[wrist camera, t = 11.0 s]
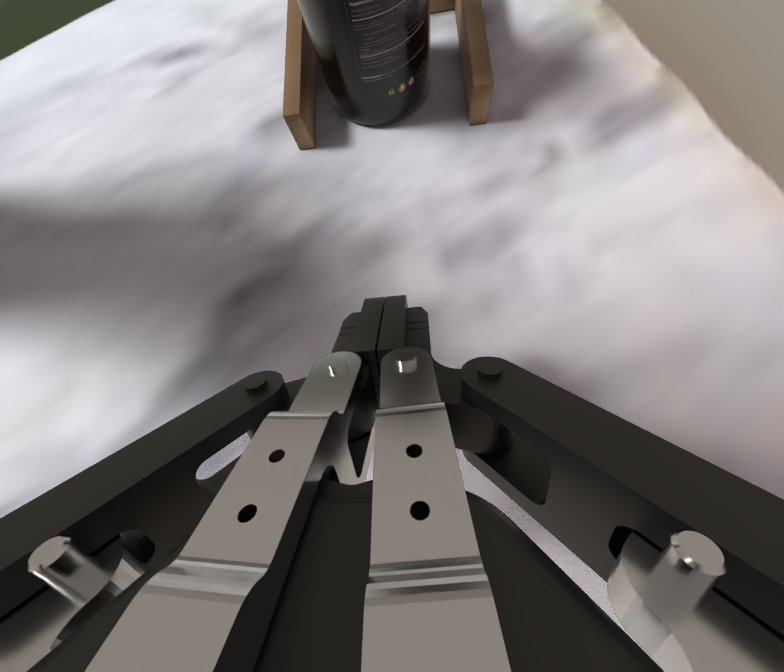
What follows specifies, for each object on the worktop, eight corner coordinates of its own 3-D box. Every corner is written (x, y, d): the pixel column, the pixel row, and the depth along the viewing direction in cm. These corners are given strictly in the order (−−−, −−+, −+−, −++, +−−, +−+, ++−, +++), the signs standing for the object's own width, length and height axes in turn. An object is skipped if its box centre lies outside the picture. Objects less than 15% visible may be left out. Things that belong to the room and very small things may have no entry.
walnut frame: (300, 149, 21) (283, 116, 19) (303, 26, 24) (288, -17, 21) (486, 122, 20) (493, 82, 18) (467, -5, 23) (471, -55, 20)
